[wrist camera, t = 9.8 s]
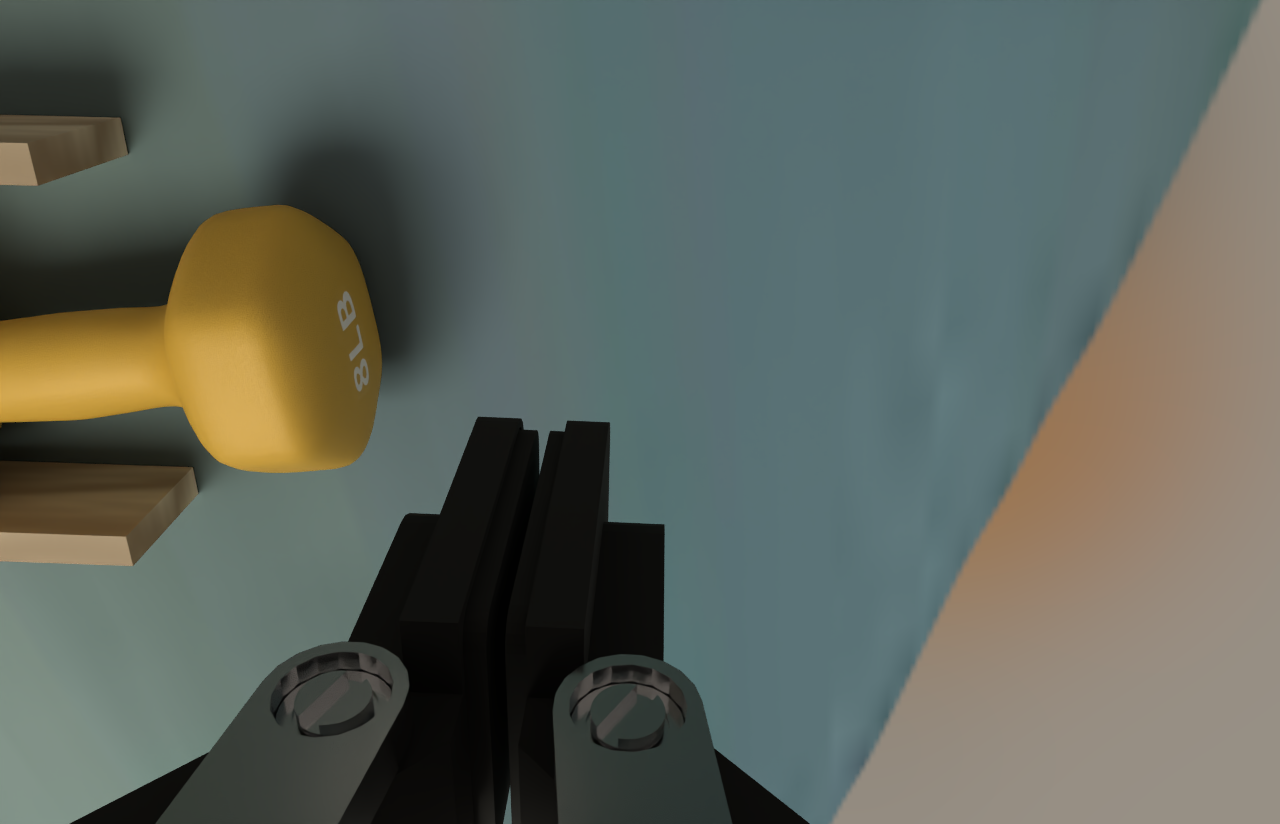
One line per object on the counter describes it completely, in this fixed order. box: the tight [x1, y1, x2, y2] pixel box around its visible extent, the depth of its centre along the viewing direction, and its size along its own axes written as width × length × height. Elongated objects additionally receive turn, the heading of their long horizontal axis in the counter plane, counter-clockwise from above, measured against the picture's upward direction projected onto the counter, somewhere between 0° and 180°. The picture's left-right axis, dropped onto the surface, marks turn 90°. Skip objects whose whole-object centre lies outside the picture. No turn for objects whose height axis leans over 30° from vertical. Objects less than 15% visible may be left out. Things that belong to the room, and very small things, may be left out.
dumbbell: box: [0, 205, 382, 473], centre depth 31 cm, size 19×9×8 cm, turn 96°
